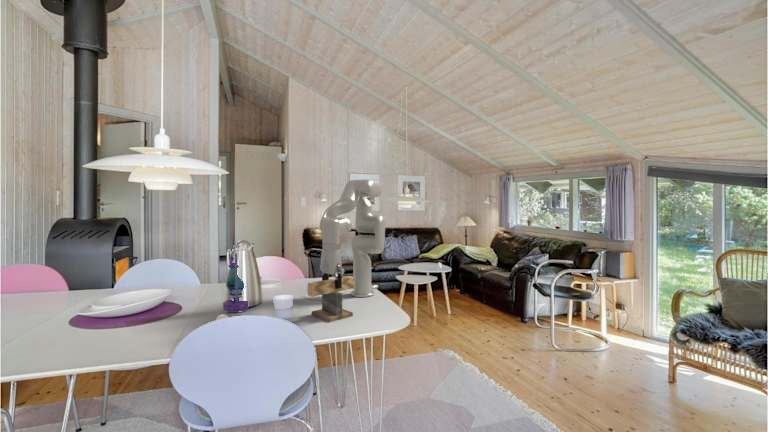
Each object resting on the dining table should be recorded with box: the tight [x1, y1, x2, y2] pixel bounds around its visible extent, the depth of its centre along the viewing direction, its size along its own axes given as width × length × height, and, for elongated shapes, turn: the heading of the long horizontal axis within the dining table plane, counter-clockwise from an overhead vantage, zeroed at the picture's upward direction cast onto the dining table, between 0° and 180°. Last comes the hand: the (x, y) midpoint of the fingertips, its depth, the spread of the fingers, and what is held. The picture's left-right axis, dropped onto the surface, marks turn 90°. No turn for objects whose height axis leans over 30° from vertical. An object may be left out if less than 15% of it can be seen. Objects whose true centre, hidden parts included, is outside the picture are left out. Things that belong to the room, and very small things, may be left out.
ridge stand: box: [311, 291, 354, 323], centre depth 166 cm, size 12×14×10 cm
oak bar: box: [307, 275, 354, 298], centre depth 166 cm, size 22×4×5 cm, turn 133°
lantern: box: [222, 244, 249, 313], centre depth 174 cm, size 13×12×30 cm
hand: (331, 286), depth 166 cm, fingers open, 9 cm apart
